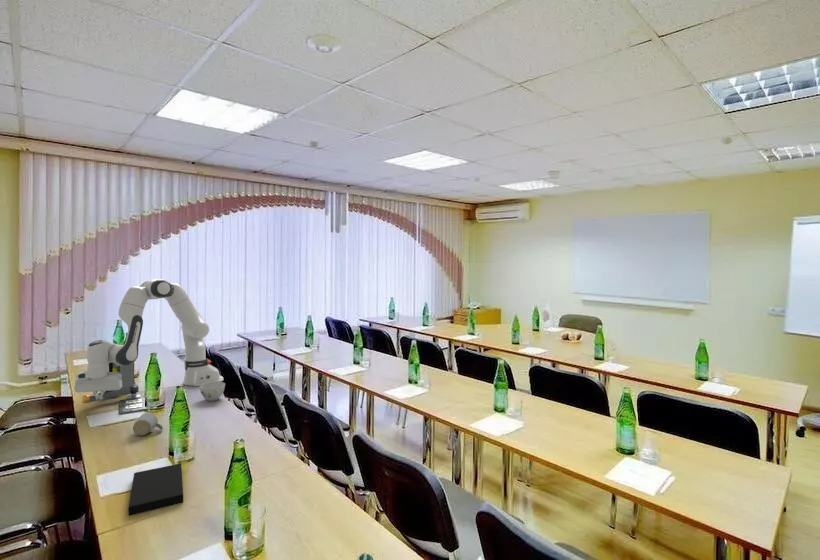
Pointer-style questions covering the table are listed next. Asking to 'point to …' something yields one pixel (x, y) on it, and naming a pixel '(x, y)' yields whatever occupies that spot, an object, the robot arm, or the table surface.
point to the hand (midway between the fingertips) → (99, 399)
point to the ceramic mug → (146, 424)
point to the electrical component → (124, 373)
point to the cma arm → (111, 394)
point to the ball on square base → (133, 396)
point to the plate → (132, 405)
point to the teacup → (212, 390)
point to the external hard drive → (156, 489)
